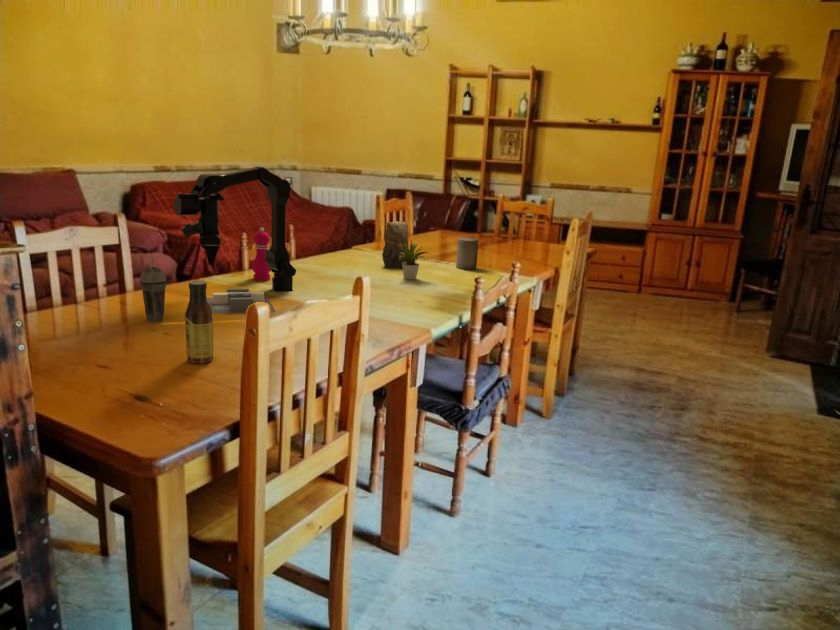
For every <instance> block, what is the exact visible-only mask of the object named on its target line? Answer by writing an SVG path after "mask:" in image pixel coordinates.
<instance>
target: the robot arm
mask: <svg viewBox="0 0 840 630" xmlns="http://www.w3.org/2000/svg"><path fill="white" fill-rule="evenodd" d="M254 181H259V183H260V184H261V185H262V186H264V187H265V188H266V192H267V193H266V194H267V197H268V199H269V202H270V205H271V239H270V240H271V246H270V247H269V248H268V249H267V250H265V253H266V259H265V261H266V262H267V265H268V266H269V267H270V269H271V271H270V273H273V277H271V279H272V280H271V286H272V287H271V289H272V290H273V291H275V293H276V292H279V293H280V292H285V293H286V292H294V290H293V286H294V285H293V281H294V279H293V277H294V276H296V273H297V269H296V268H295V267H294V266H293V265H292V264H291V260H290V254H289V252H288V249H287V246H286V213H287V211H286V207H287V204H288V202H289V199H290V196H291V189H292V186H291V183H290V182H289V181H288V180H286V179H282V178H281V177H279V176H277V175H275V174H274V173H272V172H271V171H270V170H268V169H267V168H265V167H263V166H254V167H251V168H247V169H241V170H238V171H237V170H236V171H232V172H228V173H221V174H220V173H201V174H200V175H198V177H197V178H196V182H195V185H194V186H193V188H192V189H191V190H190V192H189V193H183V192H182V193H181V192H177V193H176V197H175V199H174V203H173V209H174V212H175V214H176V216H196V215H198V214H199V217H198V221H195V222H191V223H190V222H189V223H187V224H186V223H185V224H184V226H183V225H182V226H181V231H182V233H183V236H184V238H185V239H187V238H190V236H191V237H192V236H194V235H196V234H197V235H198V234H199V245H200V247H201V248H202V249H203V250H204V251H205V255H206V259H207V263H208V266H213V265H214V262H215V260H216V257H217V254H218V252H219V250H220V247H221V245H222V244H221V242H222V241H221V237H220V226H219V225H220V224H219V223H220V220H219V219H220V218H219V201H223V202H224V201H225V200H226V198H225V197H223V196H222V195H221V193H220V192H222V191H225V190H226V189H227V188H229V187H232V186H236V185H237V186H238V185H240V184H245V183H251V182H254Z"/></svg>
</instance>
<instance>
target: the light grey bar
mask: <svg viewBox="0 0 840 630" xmlns="http://www.w3.org/2000/svg"><path fill="white" fill-rule="evenodd" d="M228 293H251V297H253V303H256V302H264V297H265V292H264V291H249V292H227V291H226V292H212V298H213V304H228Z"/></svg>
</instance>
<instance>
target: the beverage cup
mask: <svg viewBox="0 0 840 630" xmlns="http://www.w3.org/2000/svg"><path fill="white" fill-rule="evenodd" d="M147 255H148V264H149V267H147V268H145V269H144V270H143V271H142V272H141V274H140V277H139V284H140V287H141V288H140V289H141V291H142V298H143V305H144V310H145V317H146V321H148V322H151V323H157V322H162V321H163V319H164V315H165V301H166V300H165V299H166V288H167V282H168V280H167V276H166V275H165V272H164V271H163V270H162V269H160V268H158V267H155V266H153V265H152V259H151V258H152V257H151V253H150V252H147Z"/></svg>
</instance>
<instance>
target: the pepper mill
mask: <svg viewBox="0 0 840 630" xmlns="http://www.w3.org/2000/svg"><path fill="white" fill-rule="evenodd" d="M270 240H271V237H270V234H269V233H268V232H266V231H265V228H264V227H260V228H259V231H257V232H256V233H255V234H254V235H253V241H254V243H255V244H254V248H255V250H256V251H255V252H256V254H255V258H254V260H253V262H252V266H251V267H252V268H251V270H252V271H253V272H254V274H253V280H255V281H260V282H262V281H264V282H266V281H270V280H271V274H270V273H271V269H270V267H269V266H268V265H267V262H266V261H265V259H266V253H265V250H269V249H270V247H269V242H270Z"/></svg>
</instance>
